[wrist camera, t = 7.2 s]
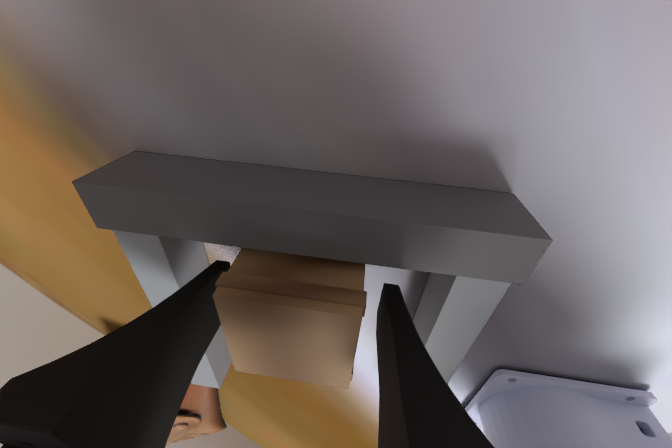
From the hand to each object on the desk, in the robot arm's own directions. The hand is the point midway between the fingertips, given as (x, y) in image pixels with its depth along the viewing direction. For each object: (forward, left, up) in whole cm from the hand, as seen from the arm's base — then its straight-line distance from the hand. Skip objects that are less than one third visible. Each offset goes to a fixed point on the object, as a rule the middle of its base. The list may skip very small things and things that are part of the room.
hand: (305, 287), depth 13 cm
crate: (0, 0, -2) cm, 2 cm away
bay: (0, +4, -2) cm, 4 cm away
